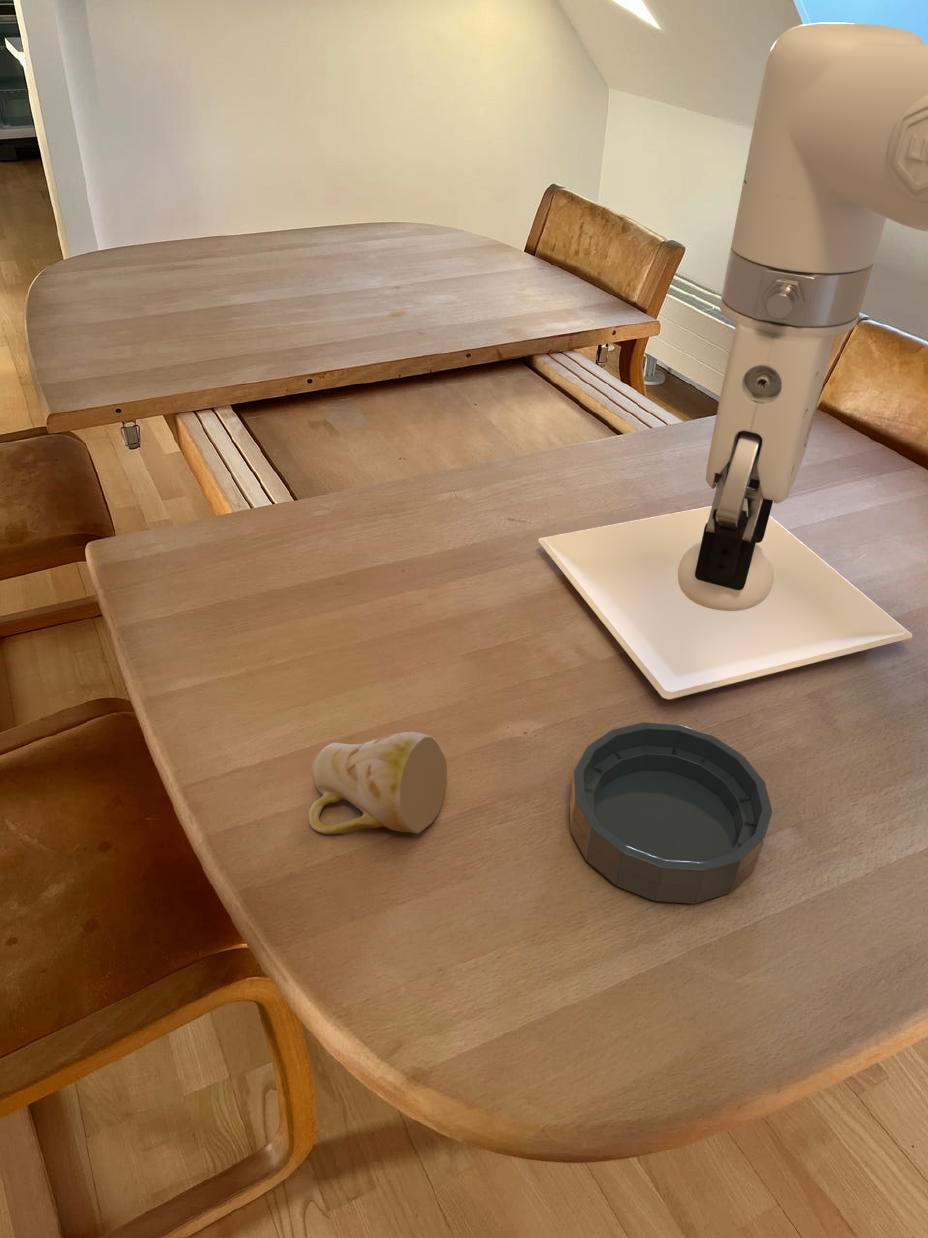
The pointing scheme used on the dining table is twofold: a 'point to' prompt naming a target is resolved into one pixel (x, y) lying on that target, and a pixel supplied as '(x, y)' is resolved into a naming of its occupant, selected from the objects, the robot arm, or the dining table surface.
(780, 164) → the robot arm
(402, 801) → the mug
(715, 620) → the plate
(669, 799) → the bowl
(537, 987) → the dining table surface
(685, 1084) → the dining table surface
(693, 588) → the garlic bulb
